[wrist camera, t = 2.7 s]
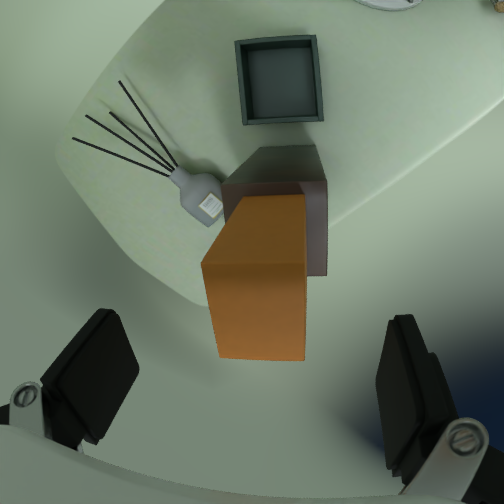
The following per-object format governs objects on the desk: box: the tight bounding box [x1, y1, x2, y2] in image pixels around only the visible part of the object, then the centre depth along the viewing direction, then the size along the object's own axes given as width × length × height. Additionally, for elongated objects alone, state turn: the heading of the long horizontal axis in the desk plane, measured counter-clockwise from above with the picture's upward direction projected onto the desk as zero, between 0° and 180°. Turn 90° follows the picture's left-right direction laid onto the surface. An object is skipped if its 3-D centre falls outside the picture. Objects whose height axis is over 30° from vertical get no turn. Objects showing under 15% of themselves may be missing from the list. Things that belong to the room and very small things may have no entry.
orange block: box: [201, 194, 307, 361], centre depth 15 cm, size 4×4×8 cm
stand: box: [220, 145, 328, 276], centre depth 26 cm, size 6×6×17 cm
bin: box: [234, 35, 324, 125], centre depth 27 cm, size 8×8×4 cm
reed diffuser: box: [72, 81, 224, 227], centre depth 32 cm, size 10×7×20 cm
